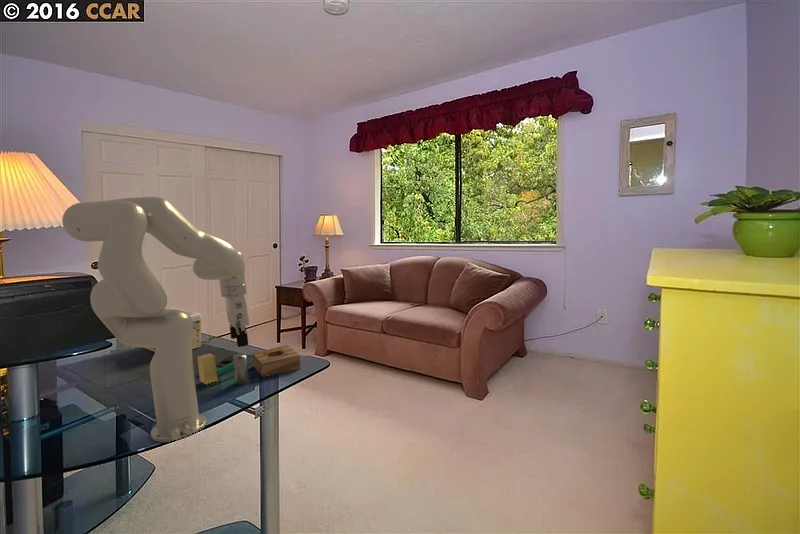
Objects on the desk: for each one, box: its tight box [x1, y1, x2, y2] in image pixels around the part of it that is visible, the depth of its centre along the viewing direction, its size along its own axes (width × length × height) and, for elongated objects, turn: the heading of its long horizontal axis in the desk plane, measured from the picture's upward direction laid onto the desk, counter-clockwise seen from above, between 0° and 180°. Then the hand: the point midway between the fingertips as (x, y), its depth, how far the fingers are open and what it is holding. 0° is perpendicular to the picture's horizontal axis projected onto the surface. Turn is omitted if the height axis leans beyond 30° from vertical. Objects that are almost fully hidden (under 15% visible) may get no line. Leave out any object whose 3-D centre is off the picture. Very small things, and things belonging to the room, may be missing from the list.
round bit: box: [233, 353, 250, 386], centre depth 133 cm, size 4×4×9 cm
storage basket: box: [143, 307, 203, 353], centre depth 171 cm, size 24×16×15 cm
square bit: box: [196, 353, 218, 384], centre depth 134 cm, size 4×4×9 cm
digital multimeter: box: [216, 354, 236, 377], centre depth 147 cm, size 7×15×3 cm, turn 158°
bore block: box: [251, 344, 301, 378], centre depth 145 cm, size 13×13×5 cm
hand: (239, 341), depth 132 cm, fingers open, 9 cm apart
